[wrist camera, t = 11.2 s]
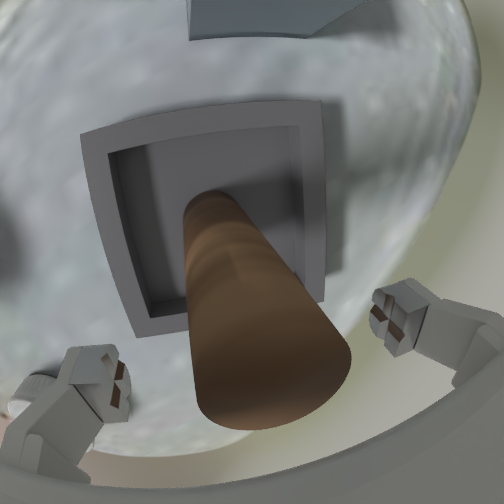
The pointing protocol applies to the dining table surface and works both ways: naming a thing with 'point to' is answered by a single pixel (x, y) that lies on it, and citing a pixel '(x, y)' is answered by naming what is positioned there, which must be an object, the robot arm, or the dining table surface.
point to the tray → (201, 180)
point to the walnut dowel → (252, 324)
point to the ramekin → (31, 395)
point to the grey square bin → (262, 17)
